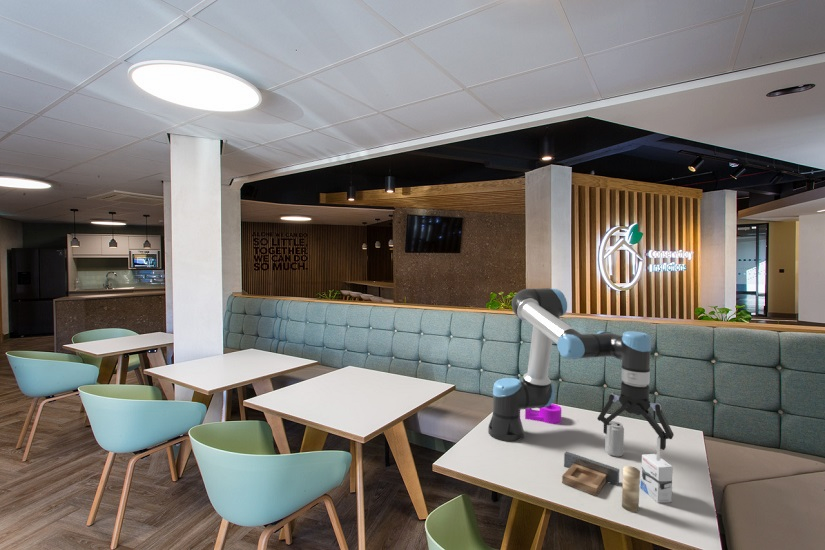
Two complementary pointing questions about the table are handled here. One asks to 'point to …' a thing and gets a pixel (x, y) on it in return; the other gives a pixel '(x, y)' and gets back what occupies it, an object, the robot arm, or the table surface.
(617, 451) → the beverage can
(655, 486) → the ink box
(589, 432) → the table surface
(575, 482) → the wooden square tray
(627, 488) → the dowel
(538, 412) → the tape dispenser
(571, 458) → the backstop rail
